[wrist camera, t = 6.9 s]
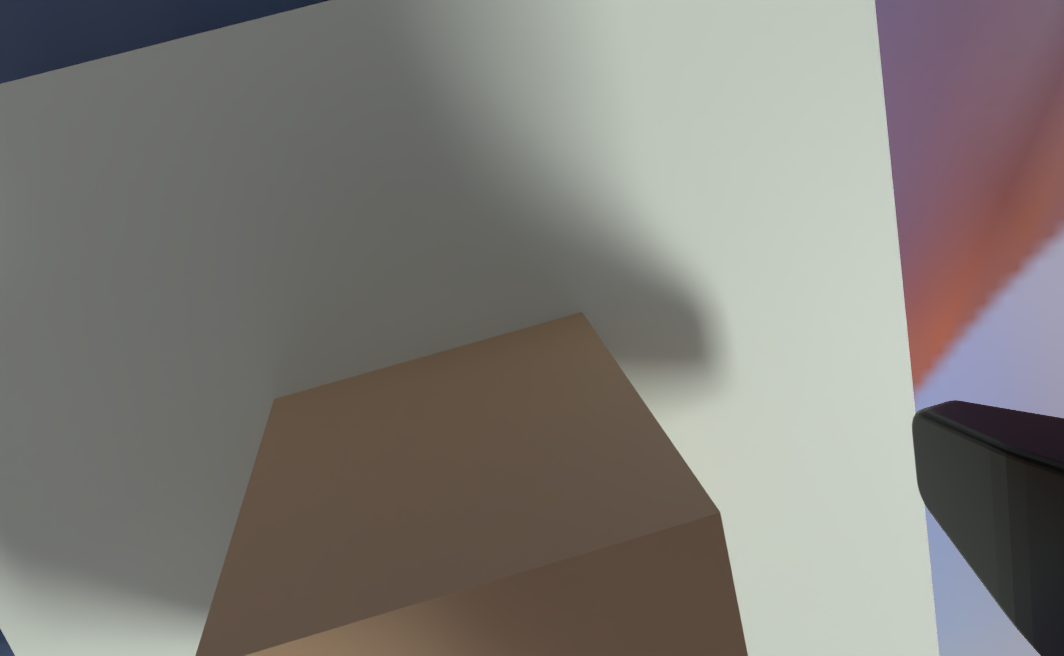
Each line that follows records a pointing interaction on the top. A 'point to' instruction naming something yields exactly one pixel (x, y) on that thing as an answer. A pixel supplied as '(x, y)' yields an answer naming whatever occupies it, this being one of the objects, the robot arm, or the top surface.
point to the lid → (461, 338)
